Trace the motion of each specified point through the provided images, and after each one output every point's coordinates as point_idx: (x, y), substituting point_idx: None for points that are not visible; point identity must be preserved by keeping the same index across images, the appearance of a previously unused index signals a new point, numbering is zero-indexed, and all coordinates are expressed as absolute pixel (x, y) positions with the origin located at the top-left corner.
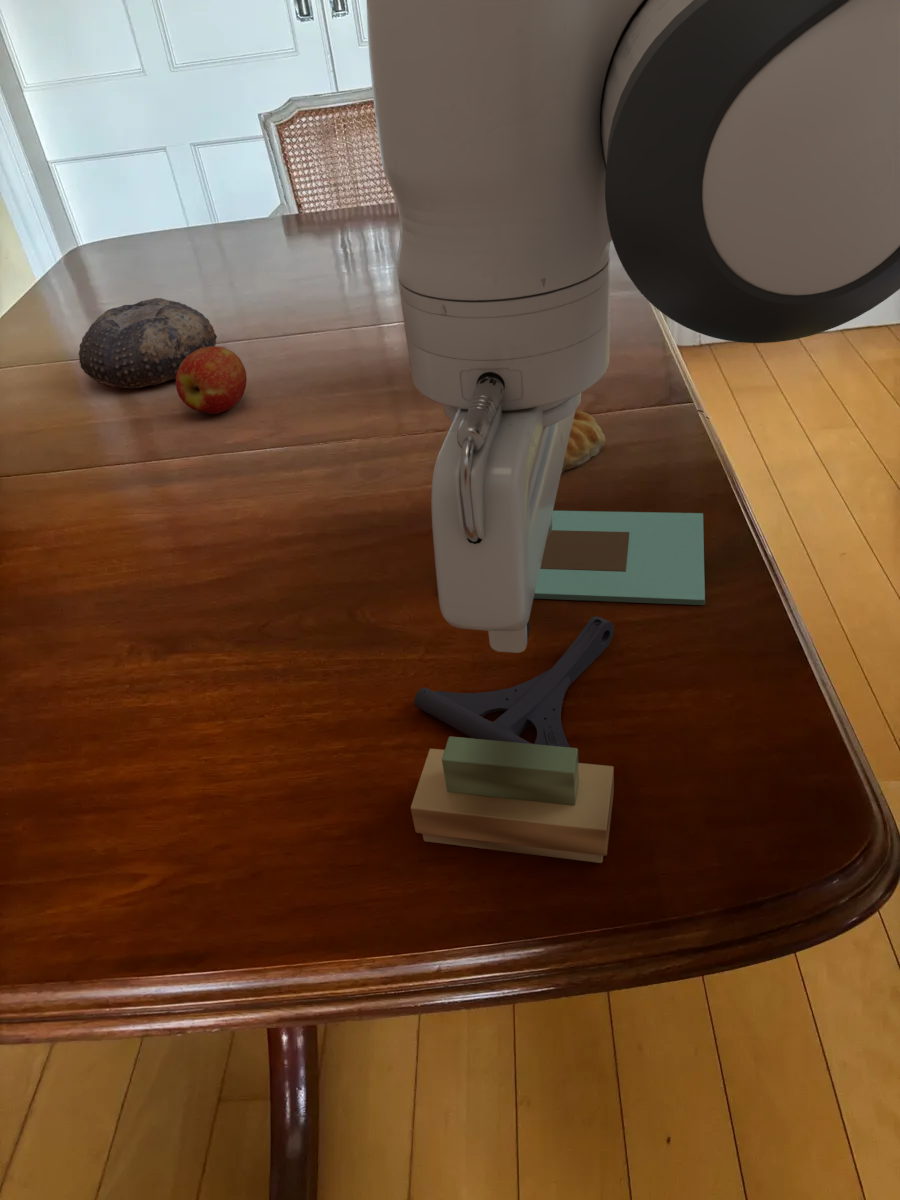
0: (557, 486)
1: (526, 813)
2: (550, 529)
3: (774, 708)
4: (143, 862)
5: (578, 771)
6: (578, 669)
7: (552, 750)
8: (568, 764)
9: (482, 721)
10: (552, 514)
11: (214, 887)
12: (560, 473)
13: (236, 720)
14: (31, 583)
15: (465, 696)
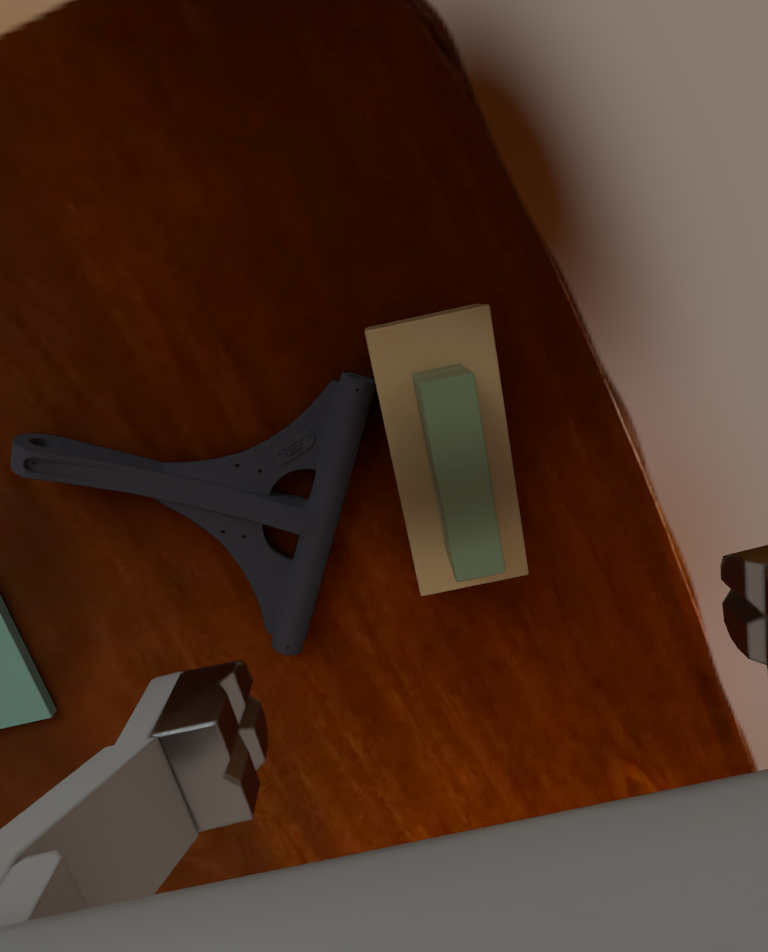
0: (477, 909)
1: (494, 425)
2: (216, 677)
3: (65, 120)
4: (614, 791)
5: (416, 376)
6: (133, 460)
7: (437, 422)
8: (459, 387)
9: (311, 551)
10: (152, 706)
11: (623, 712)
12: (291, 943)
13: (399, 821)
14: None
15: (262, 592)
